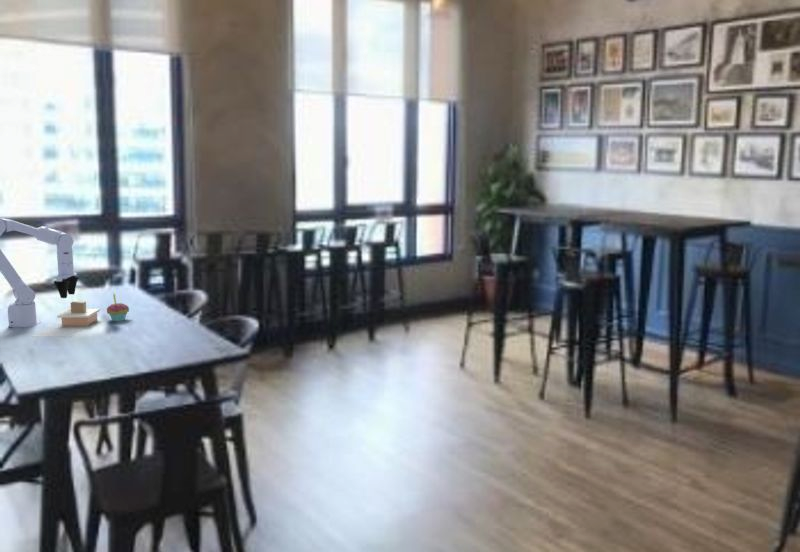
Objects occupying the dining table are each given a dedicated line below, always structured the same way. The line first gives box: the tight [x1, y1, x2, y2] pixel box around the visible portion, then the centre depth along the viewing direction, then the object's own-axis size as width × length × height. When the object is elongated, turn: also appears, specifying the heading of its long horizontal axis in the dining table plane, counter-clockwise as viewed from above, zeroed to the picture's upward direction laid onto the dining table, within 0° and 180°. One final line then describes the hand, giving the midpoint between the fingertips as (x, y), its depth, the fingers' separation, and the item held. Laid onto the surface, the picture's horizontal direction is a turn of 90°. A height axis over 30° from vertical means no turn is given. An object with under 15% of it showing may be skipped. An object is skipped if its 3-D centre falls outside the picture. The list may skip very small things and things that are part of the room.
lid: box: [56, 301, 101, 319], centre depth 297 cm, size 12×12×5 cm
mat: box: [31, 327, 85, 338], centre depth 283 cm, size 14×14×1 cm
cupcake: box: [106, 293, 130, 322], centre depth 303 cm, size 9×8×12 cm
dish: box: [61, 312, 98, 327], centre depth 298 cm, size 10×10×4 cm
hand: (67, 296), depth 303 cm, fingers open, 7 cm apart
